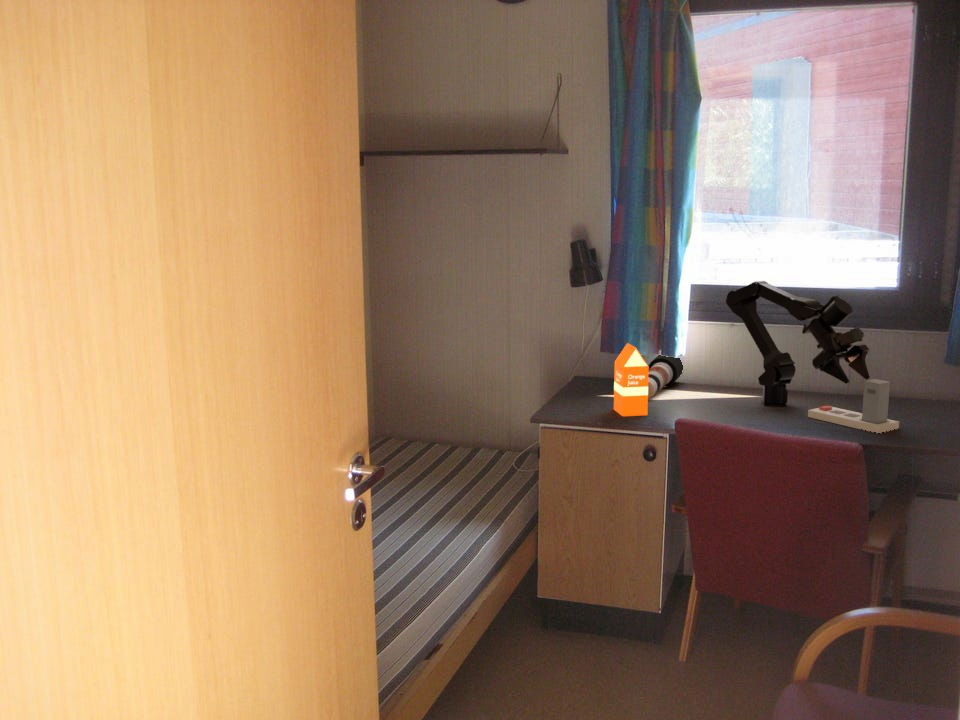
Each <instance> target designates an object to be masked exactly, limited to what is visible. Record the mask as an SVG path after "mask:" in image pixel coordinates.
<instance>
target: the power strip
mask: <svg viewBox="0 0 960 720" xmlns="http://www.w3.org/2000/svg"><path fill="white" fill-rule="evenodd" d="M807 418H811V419H815V420H820V421H823V422H829V423H832V424H837V425H842V426H845V427H849V428H853V429H856V430H861V429H862V430H861V431H865V430H866V431H865V432H870V431H871V433H874V432H876V433H875V434H878V433H880V434H883V433H882V432H884V433H887V432H890V430H891V431H895V430H899V429H898V428H900V421H898V420H893V419H889V418H887V422H886V423H882V424H873V423H869V422H865V421H862V412H857V411H853V410H849V409H845V408H844V409H843V408H839V407H834V406H831V405H823V406H819V407H817V408H811V409H808V410H807ZM894 429H895V430H894ZM886 431H887V432H886Z"/></svg>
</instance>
